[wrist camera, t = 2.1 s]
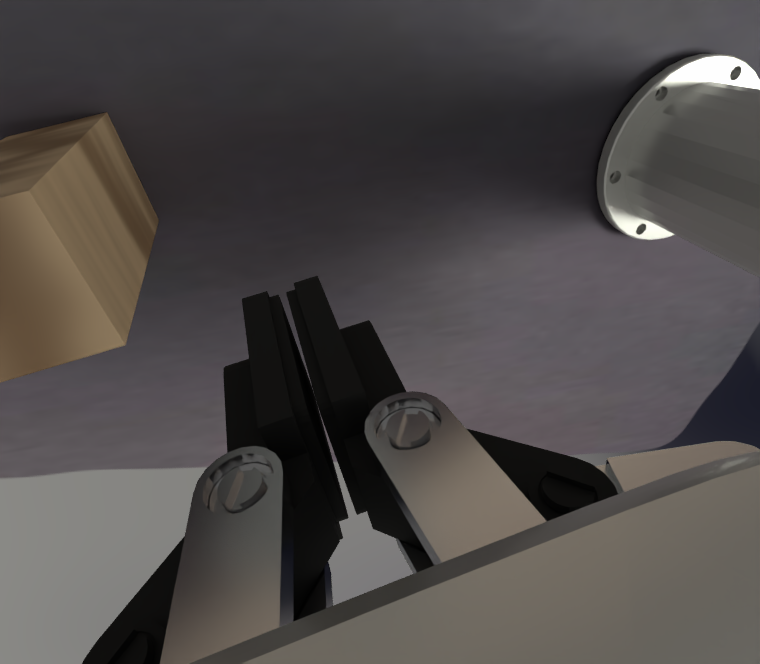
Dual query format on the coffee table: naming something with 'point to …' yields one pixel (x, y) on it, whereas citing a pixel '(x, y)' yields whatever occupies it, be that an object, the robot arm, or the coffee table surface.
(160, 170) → the coffee table surface
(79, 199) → the brown wooden block
